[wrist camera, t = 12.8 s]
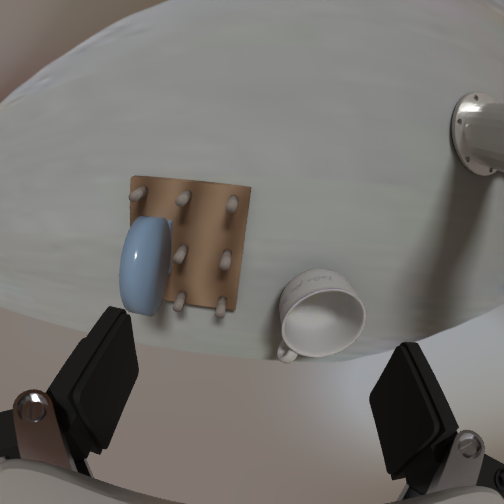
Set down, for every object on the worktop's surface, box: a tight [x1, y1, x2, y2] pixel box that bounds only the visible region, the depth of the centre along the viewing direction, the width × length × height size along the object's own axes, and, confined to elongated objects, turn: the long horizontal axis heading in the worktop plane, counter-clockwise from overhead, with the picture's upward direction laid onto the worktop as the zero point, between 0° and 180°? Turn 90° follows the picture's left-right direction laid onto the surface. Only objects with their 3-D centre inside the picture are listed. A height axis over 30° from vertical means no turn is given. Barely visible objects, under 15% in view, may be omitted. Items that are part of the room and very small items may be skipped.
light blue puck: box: [119, 215, 173, 316], centre depth 32 cm, size 2×11×12 cm, turn 173°
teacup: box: [277, 269, 366, 364], centre depth 39 cm, size 14×11×8 cm
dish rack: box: [129, 176, 251, 318], centre depth 37 cm, size 15×17×5 cm
